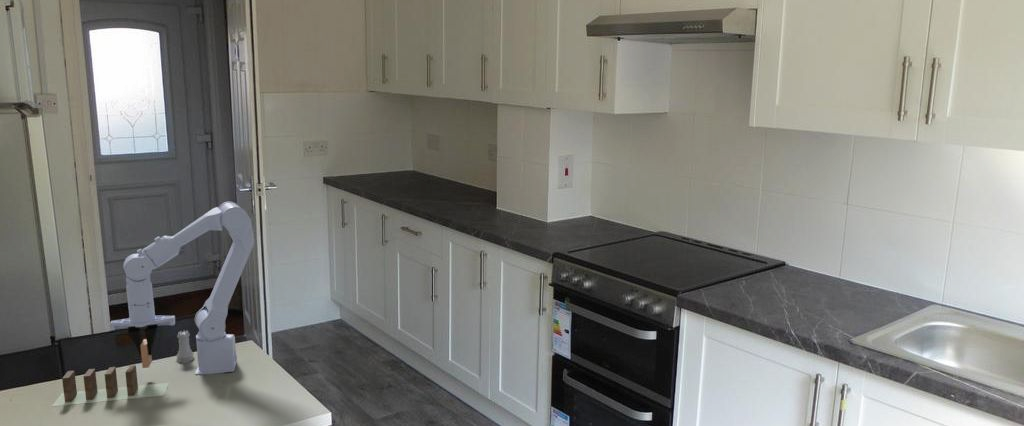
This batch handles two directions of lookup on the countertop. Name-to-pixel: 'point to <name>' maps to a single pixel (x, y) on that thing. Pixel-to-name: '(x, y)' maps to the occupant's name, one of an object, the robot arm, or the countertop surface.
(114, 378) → the domino
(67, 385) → the domino
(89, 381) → the domino
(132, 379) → the domino
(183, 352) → the rook chess piece
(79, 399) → the sage mat
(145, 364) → the terracotta domino
